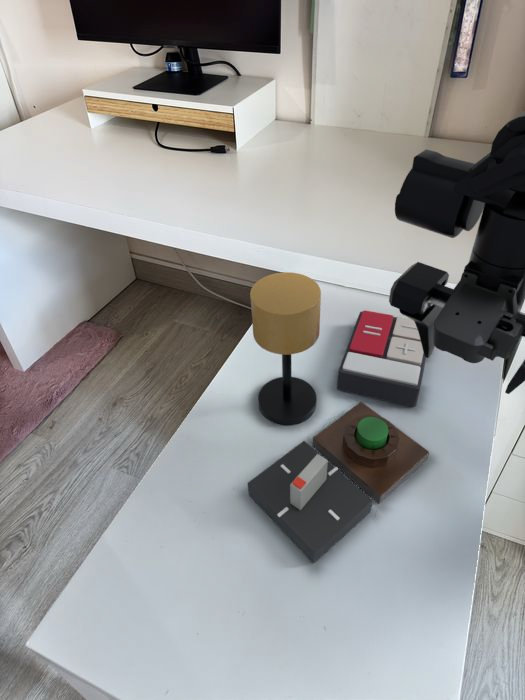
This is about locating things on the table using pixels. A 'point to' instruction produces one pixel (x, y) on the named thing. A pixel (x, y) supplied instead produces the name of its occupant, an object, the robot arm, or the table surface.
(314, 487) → the dimmer knob
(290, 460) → the panel
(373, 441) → the power button
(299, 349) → the desk lamp
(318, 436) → the switch block
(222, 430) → the table surface
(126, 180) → the table surface
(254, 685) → the table surface
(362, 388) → the calculator
